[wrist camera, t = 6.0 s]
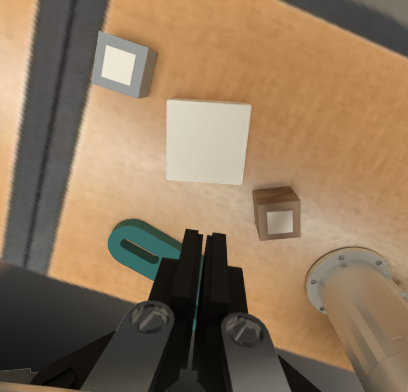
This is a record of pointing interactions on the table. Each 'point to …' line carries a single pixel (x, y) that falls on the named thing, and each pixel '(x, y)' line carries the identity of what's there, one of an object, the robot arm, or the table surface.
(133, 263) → the bracket
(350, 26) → the table surface
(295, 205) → the walnut block
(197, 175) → the plain block
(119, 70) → the slate block
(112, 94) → the table surface
